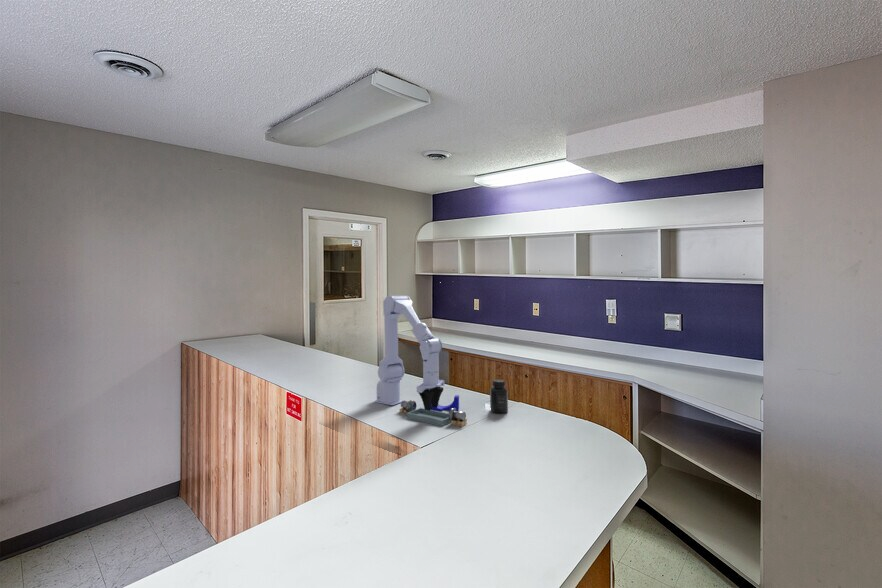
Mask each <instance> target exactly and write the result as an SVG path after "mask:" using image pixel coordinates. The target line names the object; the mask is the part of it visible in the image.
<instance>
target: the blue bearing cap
mask: <svg viewBox="0 0 882 588" xmlns="http://www.w3.org/2000/svg"><path fill="white" fill-rule="evenodd" d="M451 408H455V409H456V411H459V410H460V395H459V394H456V395H454V397H453V401H452V402H451V403H450V404H448V405H441V404H439V403H438V407H437V408H436V407H432V404H431V410H434V411H439V412H443V411H448V412H449V411H450V409H451Z"/></svg>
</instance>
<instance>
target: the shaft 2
mask: <svg viewBox="0 0 882 588" xmlns="http://www.w3.org/2000/svg"><path fill="white" fill-rule="evenodd" d="M448 413H449V420H450V421H452V422H451V427H458V428H459V427H460V428H463V427H465V426H466V425H467V422H468V421H467V419H468V418H466V417H467V413H466V412H465V411H461V410H460V411H459V410H458V411H457V409H456V408H451V409H450V411H449V410H448Z"/></svg>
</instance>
